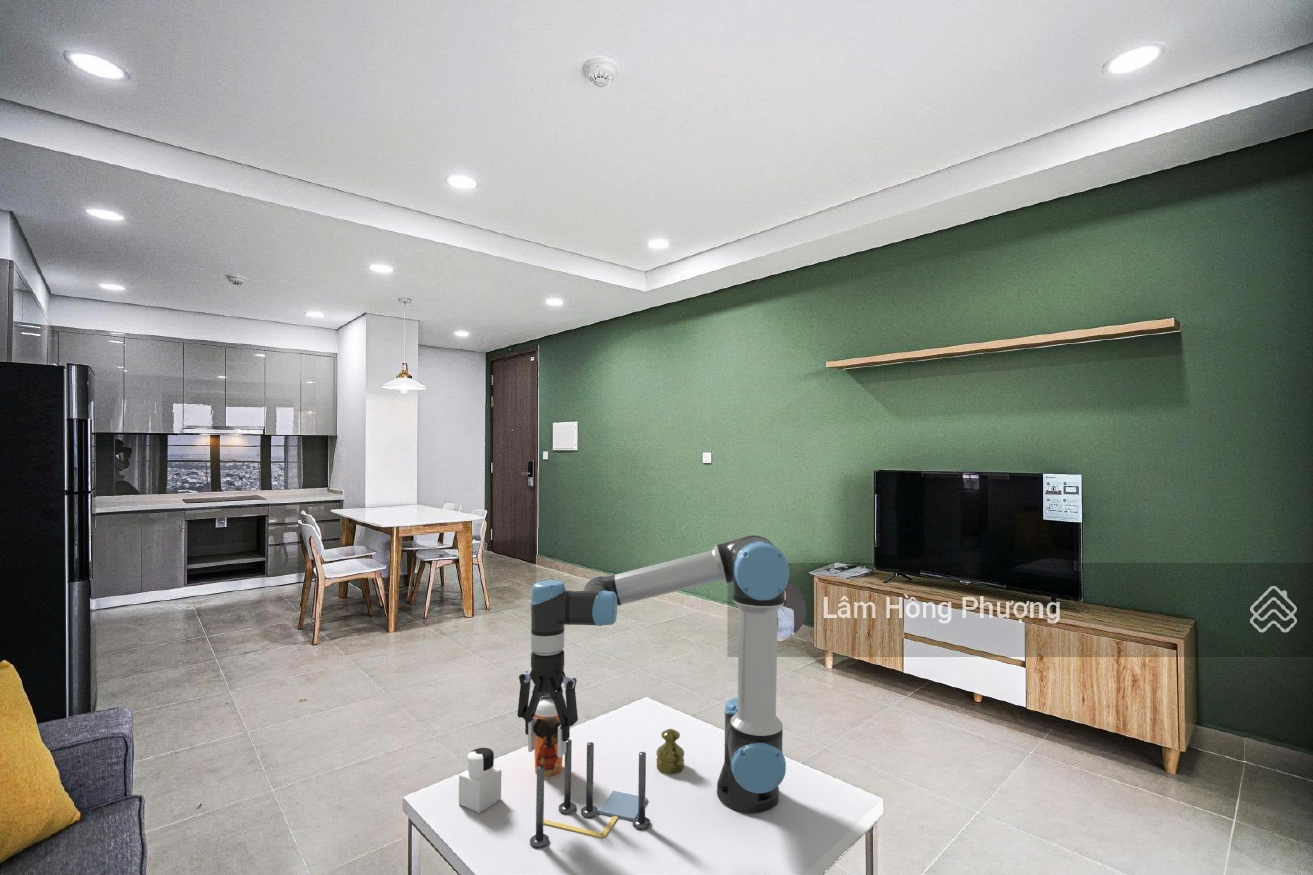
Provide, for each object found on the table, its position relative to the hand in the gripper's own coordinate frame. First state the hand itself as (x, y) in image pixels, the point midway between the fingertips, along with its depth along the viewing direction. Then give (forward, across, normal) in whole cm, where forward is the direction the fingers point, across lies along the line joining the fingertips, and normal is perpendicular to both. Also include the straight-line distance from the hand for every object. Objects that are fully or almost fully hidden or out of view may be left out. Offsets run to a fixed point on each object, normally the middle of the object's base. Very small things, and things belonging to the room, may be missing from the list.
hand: (547, 751), depth 141 cm
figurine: (+5, 0, 0) cm, 5 cm away
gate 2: (+16, -14, -7) cm, 22 cm away
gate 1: (+16, -2, 0) cm, 16 cm away
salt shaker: (+17, -19, -33) cm, 41 cm away
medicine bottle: (+16, +19, -2) cm, 25 cm away
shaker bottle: (+16, +11, -21) cm, 29 cm away
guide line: (+16, -7, -3) cm, 18 cm away
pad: (+16, -14, -12) cm, 24 cm away
